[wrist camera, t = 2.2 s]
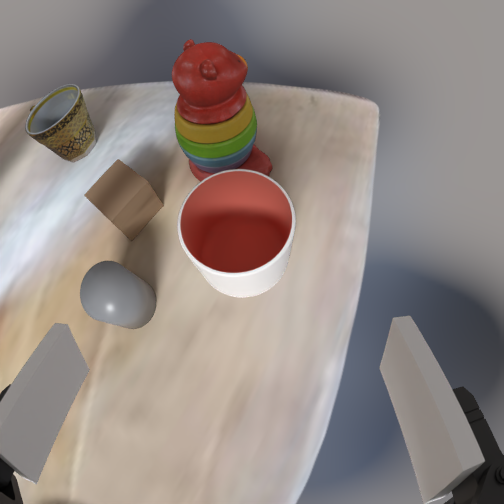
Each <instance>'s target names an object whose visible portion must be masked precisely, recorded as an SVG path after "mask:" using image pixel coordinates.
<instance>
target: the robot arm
mask: <svg viewBox="0 0 504 504" xmlns="http://www.w3.org/2000/svg"><path fill="white" fill-rule="evenodd" d="M89 370H90V369H89V367H88V366H87V364H86V362H85V360H84V358H83V356H82V354H81V352H80V350H79V348H78V346H77V344H76V342H75V339H74V337H73V335H72V333H71V331H70V329H69V326H68V324H59V323H55V324H54V325H53V326H52V328H51V329H50V330H49V332H48V333H47V334H46V336H45V337H44V338H43V340H42V341H41V342H40V344H39V345H38V347H37V348H36V349H35V351H34V352H33V354H32V355H31V356H30V358H29V359H28V361H27V362H26V364H25V365H24V366H23V368H22V369H21V371H20V372H19V374H18V375H17V377H16V378H15V380H14V381H13V383H12V384H10V385H9V386H8V387H6V388H5V389H4V390H3V391H2V392H1V394H0V504H23V501H22V498H21V494H20V490H19V486H18V482H17V479H16V477H15V476H14V475H13V473H14V471H16V472H17V473H18V474H19V475H20V476H22V477H23V478H25V479H27V480H29V481H31V482H33V483H35V484H37V482H38V480H39V477H40V475H41V472H42V470H43V467H44V465H45V462H46V460H47V458H48V455H49V453H50V451H51V448H52V446H53V444H54V442H55V439H56V437H57V435H58V433H59V431H60V428H61V426H62V424H63V422H64V420H65V418H66V416H67V414H68V411H69V409H70V407H71V405H72V403H73V401H74V399H75V397H76V395H77V393H78V391H79V389H80V387H81V385H82V383H83V381H84V379H85V378H86V376H87V374H88V372H89ZM380 371H381V374H382V376H383V379H384V381H385V384H386V387H387V390H388V392H389V395H390V398H391V401H392V403H393V406H394V409H395V412H396V415H397V418H398V421H399V424H400V427H401V430H402V433H403V436H404V439H405V442H406V445H407V448H408V452H409V455H410V458H411V461H412V465H413V468H414V471H415V475H416V478H417V482H418V486H419V489H420V492H421V497H422V500H423V504H427V503H430V502H433V501H435V500H438V499H441V498H443V497H445V496H446V495H447V494H448V493H450V492H451V491H452V494H453V497H452V498H451V499H450V500H448V501H447V502H445V503H444V504H504V455H503V454H502V452H501V451H500V449H499V447H498V445H497V442H496V440H495V438H494V436H493V434H492V432H491V430H490V427H489V426H488V423H487V421H486V419H484V415H483V413H482V412H481V410H479V406H478V404H477V402H476V400H475V398H474V396H473V395H472V394H471V393H470V392H469V391H467V390H466V389H465V388H464V387H459V388H456V389H453V390H452V388H451V386H450V385H449V383H448V381H447V379H446V377H445V375H444V373H443V372H442V370H441V368H440V366H439V364H438V362H437V360H436V359H435V357H434V355H433V353H432V352H431V350H430V348H429V346H428V345H427V343H426V341H425V339H424V338H423V336H422V334H421V333H420V331H419V329H418V328H417V326H416V324H415V323H414V321H413V319H412V318H411V316H404V317H396V318H393V320H392V324H391V328H390V332H389V335H388V340H387V343H386V347H385V350H384V354H383V357H382V361H381V364H380Z"/></svg>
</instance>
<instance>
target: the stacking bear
mask: <svg viewBox="0 0 504 504" xmlns="http://www.w3.org/2000/svg"><path fill="white" fill-rule="evenodd" d="M247 68H248V67H247V63H246V61H245V59H243V58H242V57H241V56H240V55H237V54H235V53H233V52H231V51H229V50H227V49H226V48H225V47H224V46H222V45H220V44H217V43H212V42H206V43H200V44H197V45H195V44H194V42H193V40H191V39H190V40H188V41H187V42H186V43H185V44H184V52H183V53H182V54H181V55H180V56H179V57H178V59H177V60H176V62H175V64H174V66H173V70H172V80H173V83H174V86H175V88H176V89H177V91H178V93H179V94H180V96H179V98H178V101H177V103H176V106H175V131H176V136H177V139H178V142H179V145H180V147H181V148H182V150H183V152H184V153H185V154H186V156H187V157H188V158H189V165H190V169H191V171H192V173H193V174H194V176H195V177H196V178H197V179H198V180H200V181H203V180H204V179H206V178H207V177H209V176H211V175H213V174H216V173H219V172H222V171H226V170H233V169H246V170H252V171H256V172H259V173H262V174H264V175H266V176H269V173H270V172H271V170H272V164H271V162H270V159H269V157H268V156H267V155H266V154H265V153H263V152H262V151H260V150H259V149H258V148H257V147H256V146H255V145H254V142H255V138H256V131H257V120H256V116H255V112H254V109H253V107H252V104H251V102H250V99H249V97H248V95H247V93H246V91H245V89H244V87H243V86H242V83H243V82H244V80H245V77H246V74H247Z"/></svg>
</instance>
